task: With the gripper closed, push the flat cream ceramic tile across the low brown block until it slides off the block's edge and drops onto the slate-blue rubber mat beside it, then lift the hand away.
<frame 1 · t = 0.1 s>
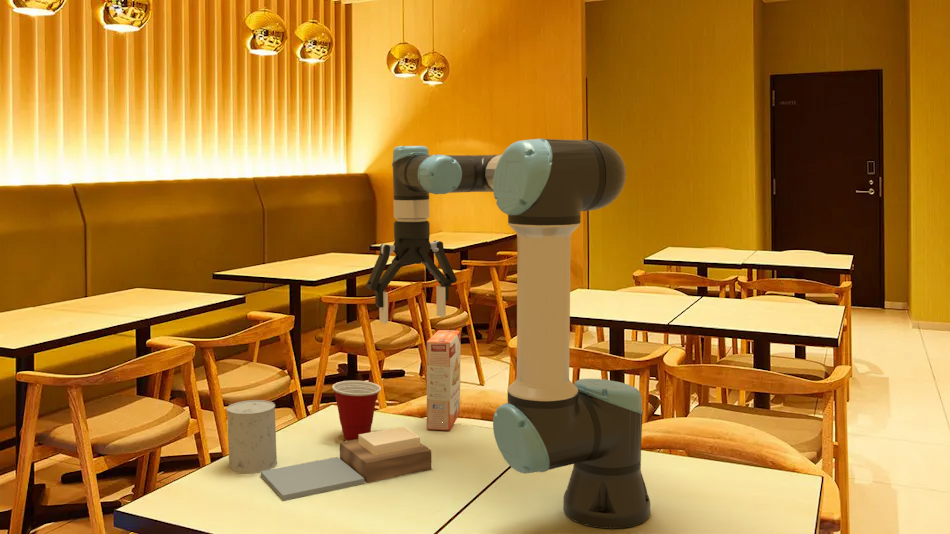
hand: (413, 319, 183), 28 cm above the table, fingers open, 13 cm apart
mat: (312, 479, 166), on the table
speckled stone pillar: (253, 466, 174), on the table
tile: (389, 445, 174), point 4 cm above the table, touching brown block
cracker box: (444, 422, 202), on the table
plastic cup: (357, 438, 191), on the table
brown block: (385, 465, 174), on the table
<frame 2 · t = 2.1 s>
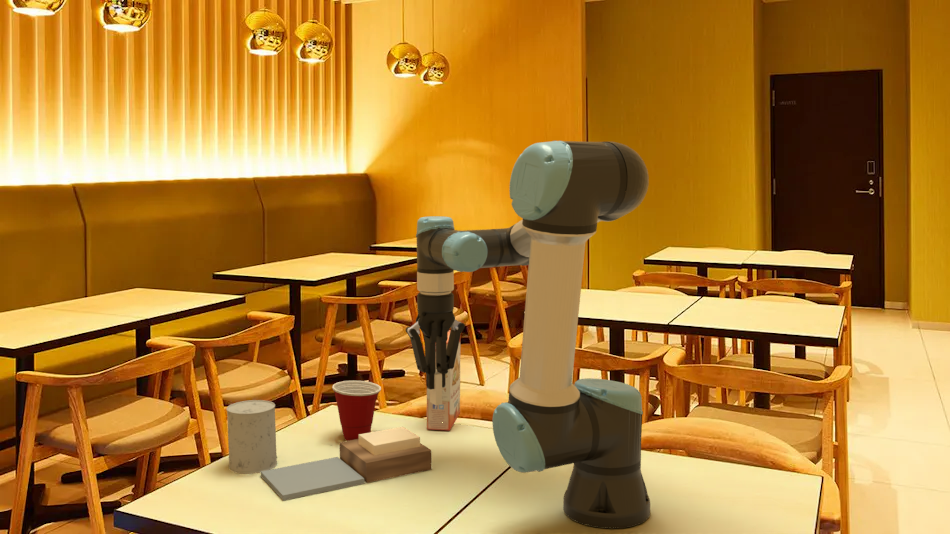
hand: (435, 403, 179), 11 cm above the table, fingers closed
nothing on the table moved.
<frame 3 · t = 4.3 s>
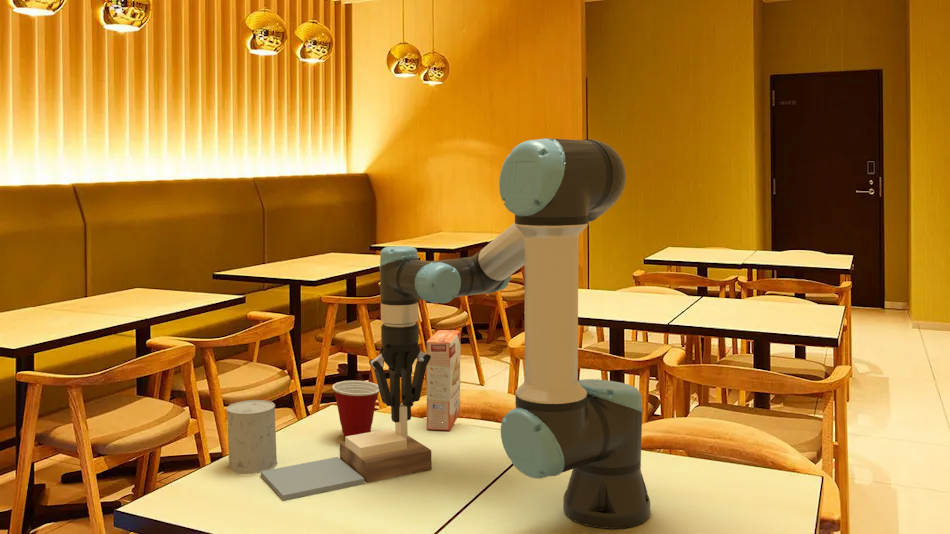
hand: (401, 436, 175), 5 cm above the table, fingers closed
tile: (376, 447, 173), point 4 cm above the table, touching brown block, gripper
everything else where it was.
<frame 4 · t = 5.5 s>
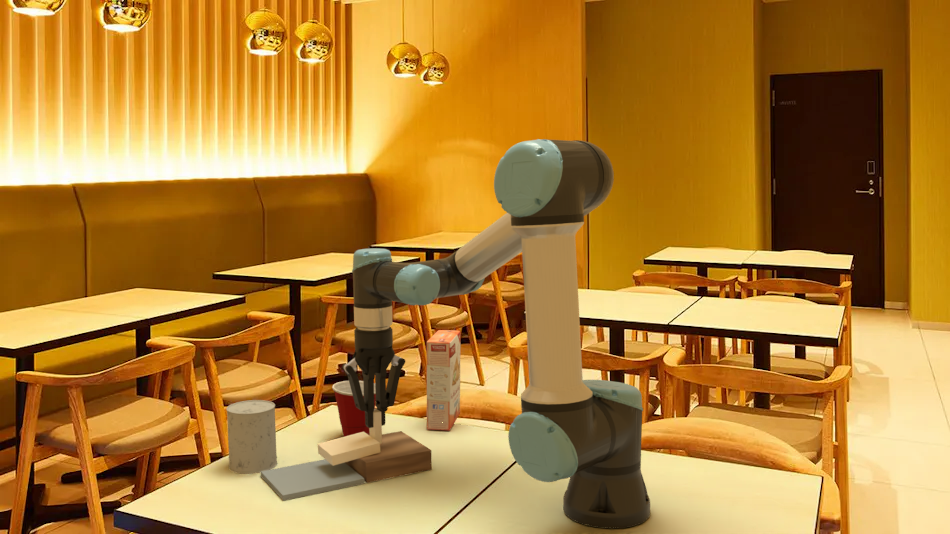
hand: (375, 441, 172), 5 cm above the table, fingers closed
tile: (349, 452, 170), point 4 cm above the table, touching brown block
everything else where it was.
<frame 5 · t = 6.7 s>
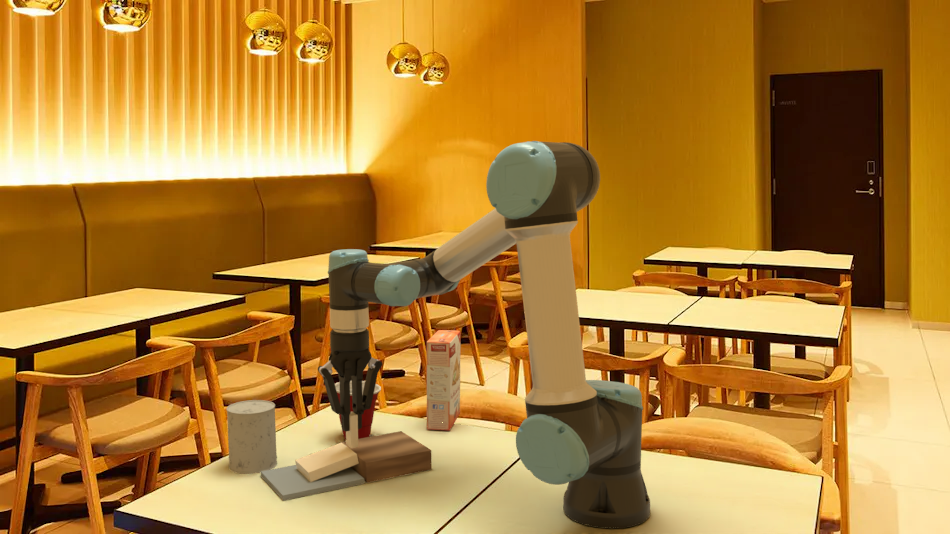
hand: (352, 445, 170), 5 cm above the table, fingers closed
tile: (327, 466, 168), point 2 cm above the table, tilted 11°, touching mat
everything else where it was.
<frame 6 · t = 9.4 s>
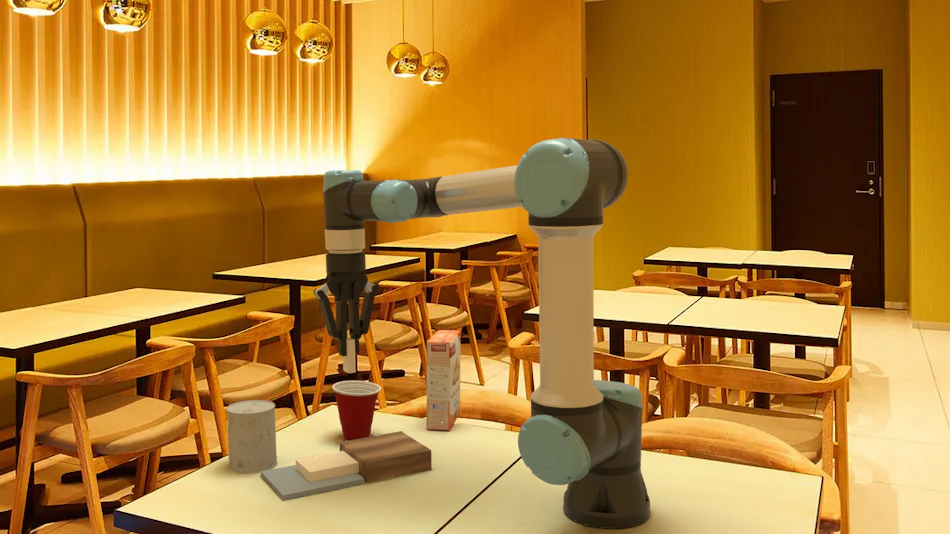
hand: (349, 371, 167), 21 cm above the table, fingers closed
tile: (327, 470, 168), point 1 cm above the table, touching mat
everything else where it was.
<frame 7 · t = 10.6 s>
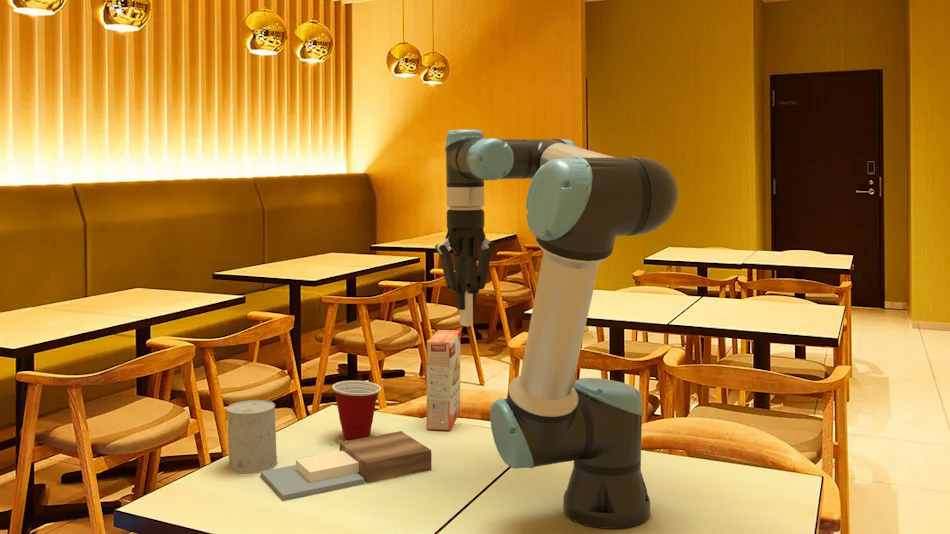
hand: (466, 325, 173), 28 cm above the table, fingers closed
nothing on the table moved.
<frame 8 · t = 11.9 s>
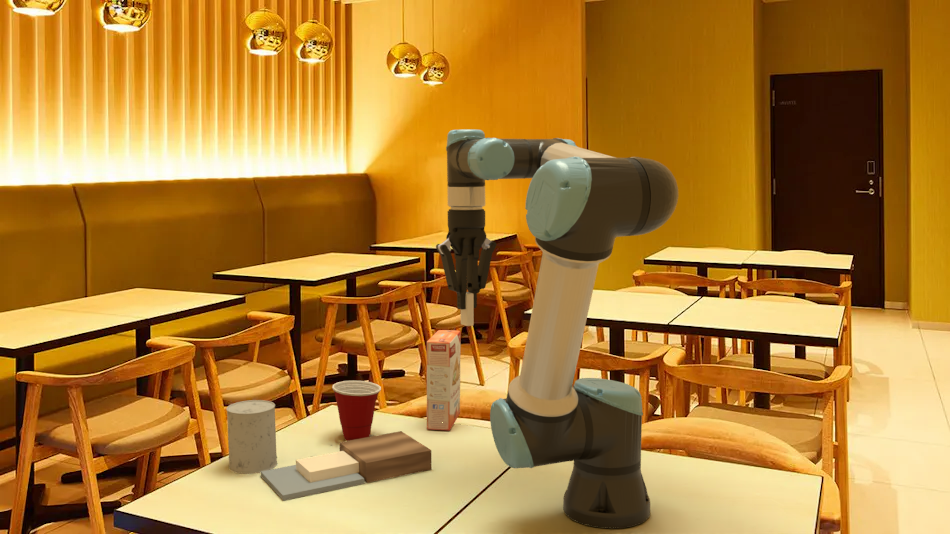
hand: (467, 324, 173), 28 cm above the table, fingers closed
nothing on the table moved.
at the end: tile inside the target area on the mat (3.4 cm from its centre), point 1.0 cm above the mat's base; tile point 1.0 cm above the table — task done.
